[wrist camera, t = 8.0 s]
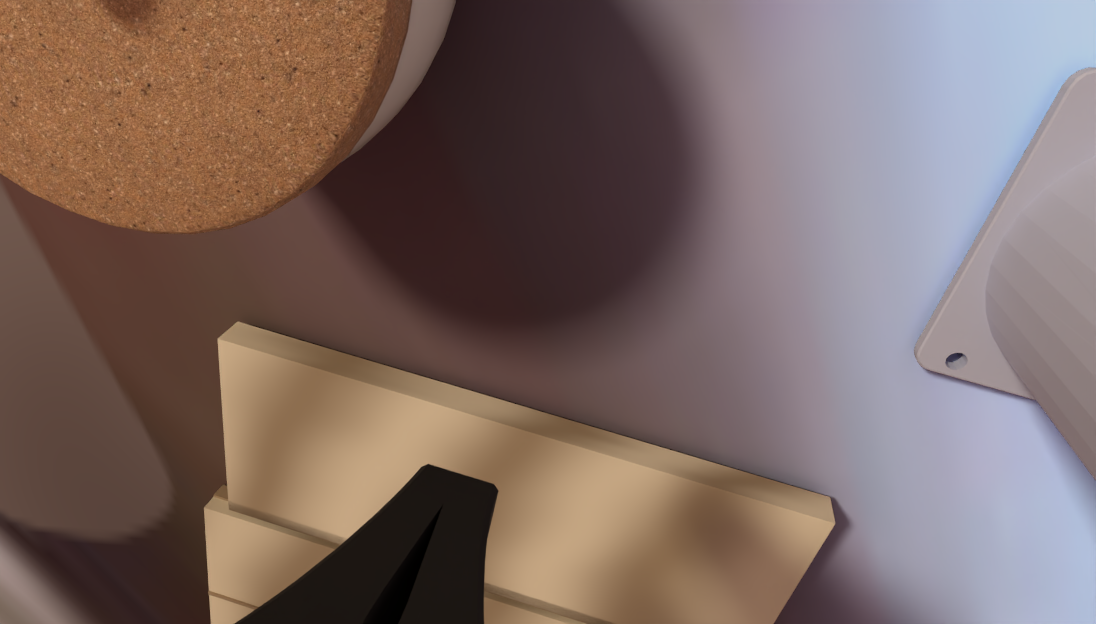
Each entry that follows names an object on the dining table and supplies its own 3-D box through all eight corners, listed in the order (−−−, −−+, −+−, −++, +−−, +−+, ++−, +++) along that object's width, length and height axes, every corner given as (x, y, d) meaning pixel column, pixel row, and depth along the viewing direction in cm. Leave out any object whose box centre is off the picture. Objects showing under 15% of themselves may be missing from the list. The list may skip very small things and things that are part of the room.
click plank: (830, 497, 22) (835, 523, 21) (741, 645, 26) (742, 673, 25) (237, 321, 23) (217, 338, 22) (245, 489, 27) (228, 510, 26)
